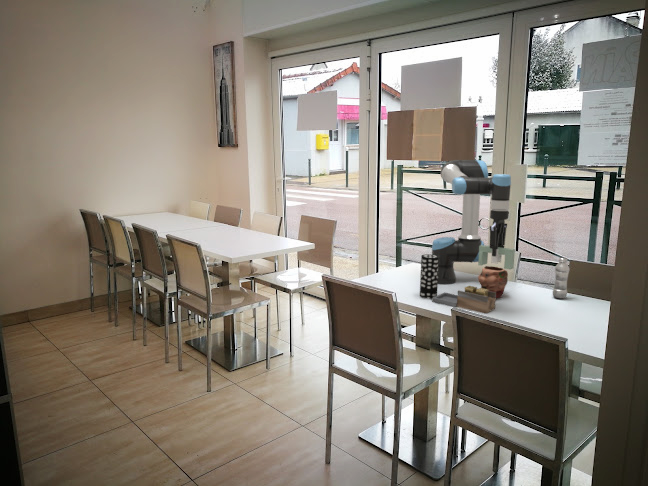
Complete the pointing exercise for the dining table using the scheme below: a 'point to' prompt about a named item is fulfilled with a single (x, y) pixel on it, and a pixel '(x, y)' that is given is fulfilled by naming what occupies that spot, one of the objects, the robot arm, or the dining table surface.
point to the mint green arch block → (504, 251)
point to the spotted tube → (429, 276)
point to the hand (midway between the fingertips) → (496, 262)
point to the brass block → (471, 289)
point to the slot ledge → (476, 301)
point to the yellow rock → (482, 292)
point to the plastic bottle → (561, 278)
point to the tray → (446, 299)
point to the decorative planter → (493, 279)
